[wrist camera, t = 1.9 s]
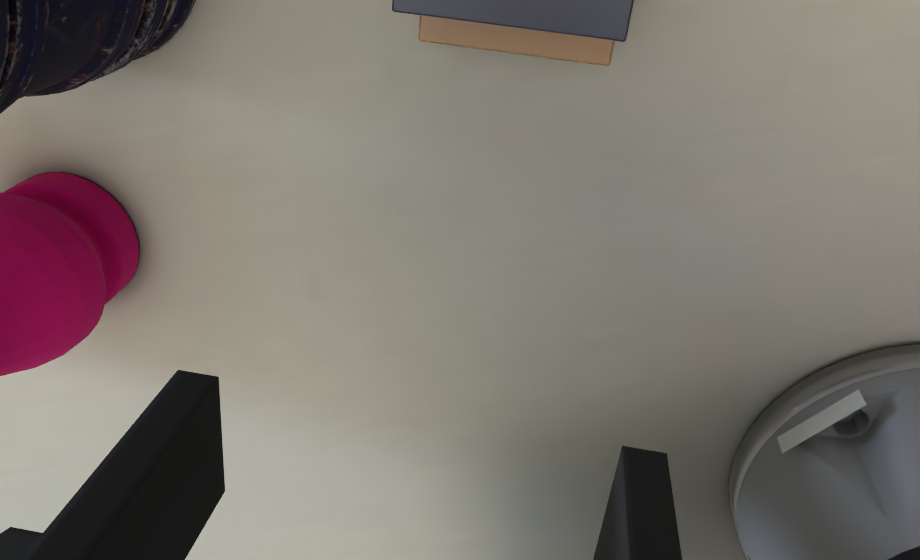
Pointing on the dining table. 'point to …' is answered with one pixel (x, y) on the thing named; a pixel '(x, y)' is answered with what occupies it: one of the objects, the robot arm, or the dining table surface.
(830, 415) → the robot arm
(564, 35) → the blue toy chair
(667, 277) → the dining table surface
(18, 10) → the dark blue barrel
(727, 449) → the dining table surface
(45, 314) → the pepper mill
